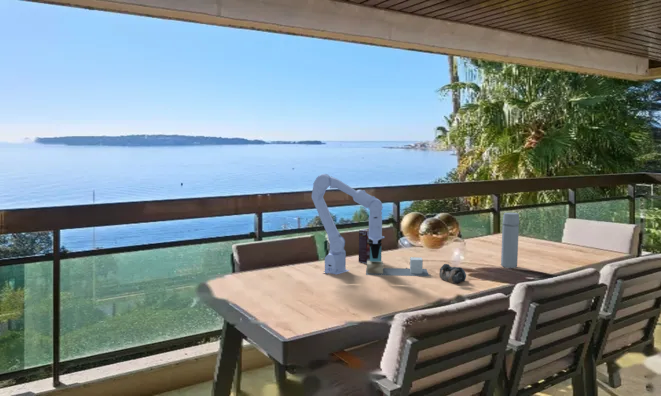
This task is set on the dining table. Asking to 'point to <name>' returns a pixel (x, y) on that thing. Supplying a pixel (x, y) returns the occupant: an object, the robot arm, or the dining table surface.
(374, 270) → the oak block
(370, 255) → the teal block
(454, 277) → the black rounded lump
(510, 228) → the water bottle
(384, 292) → the dining table surface
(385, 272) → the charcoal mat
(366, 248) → the supplement box
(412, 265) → the light grey block
